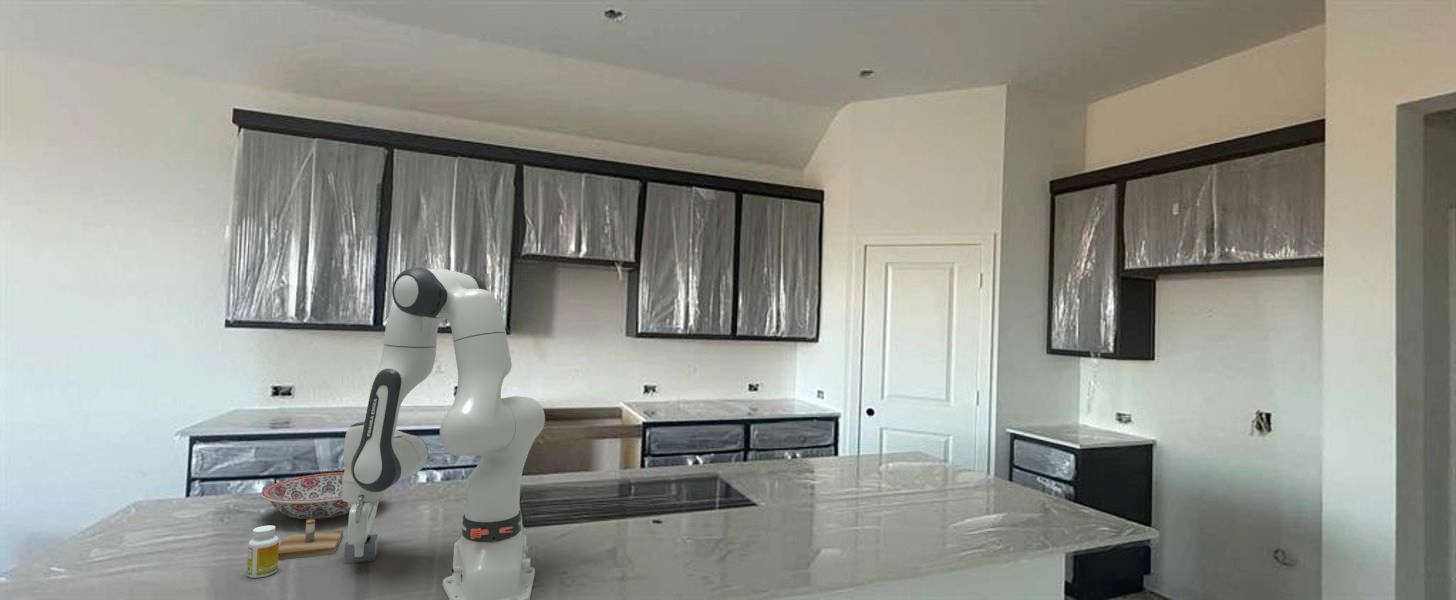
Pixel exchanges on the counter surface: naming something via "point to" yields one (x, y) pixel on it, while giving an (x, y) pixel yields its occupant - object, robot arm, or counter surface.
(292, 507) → the ceramic bowl
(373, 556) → the grey square block
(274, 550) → the supplement bottle
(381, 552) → the counter surface
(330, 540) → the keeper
